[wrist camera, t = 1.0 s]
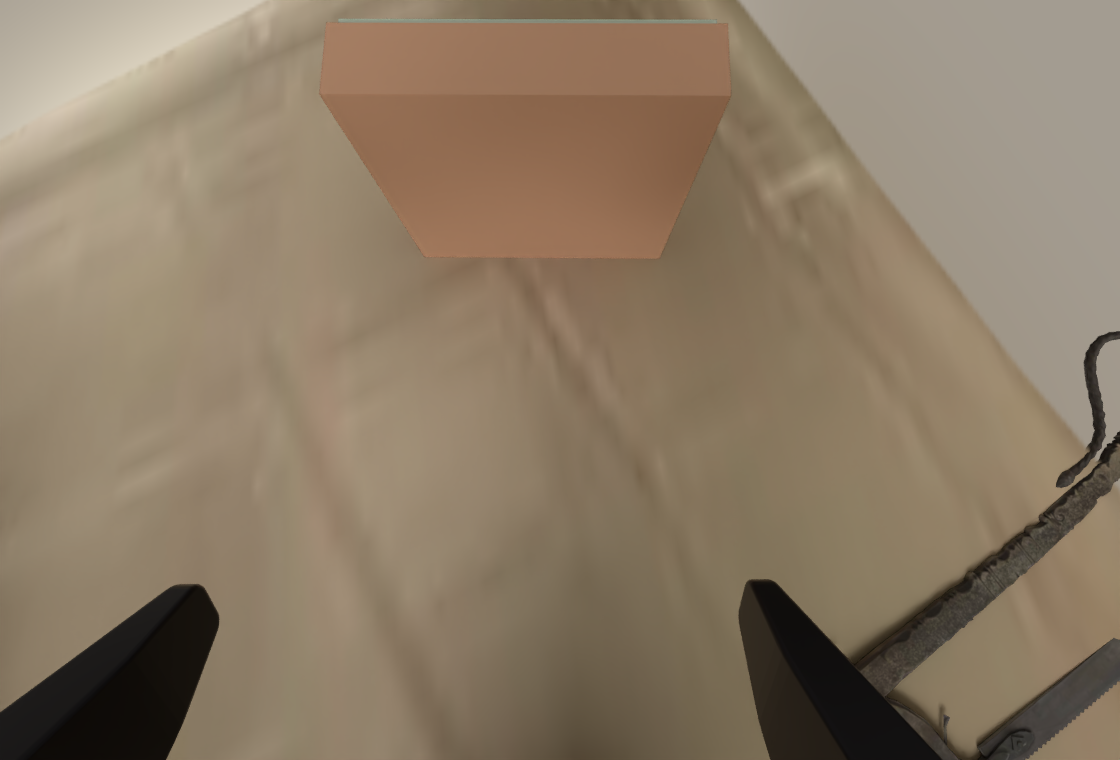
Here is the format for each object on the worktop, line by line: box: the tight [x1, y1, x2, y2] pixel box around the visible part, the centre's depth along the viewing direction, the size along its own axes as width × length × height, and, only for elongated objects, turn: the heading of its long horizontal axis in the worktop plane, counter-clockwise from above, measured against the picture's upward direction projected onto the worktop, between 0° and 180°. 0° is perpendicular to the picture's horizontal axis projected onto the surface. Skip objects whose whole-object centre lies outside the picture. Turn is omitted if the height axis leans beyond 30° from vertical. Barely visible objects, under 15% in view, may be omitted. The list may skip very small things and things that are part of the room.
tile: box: [319, 19, 731, 259], centre depth 18 cm, size 2×10×10 cm, turn 89°
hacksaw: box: [854, 331, 1120, 760], centre depth 20 cm, size 24×10×2 cm, turn 123°
